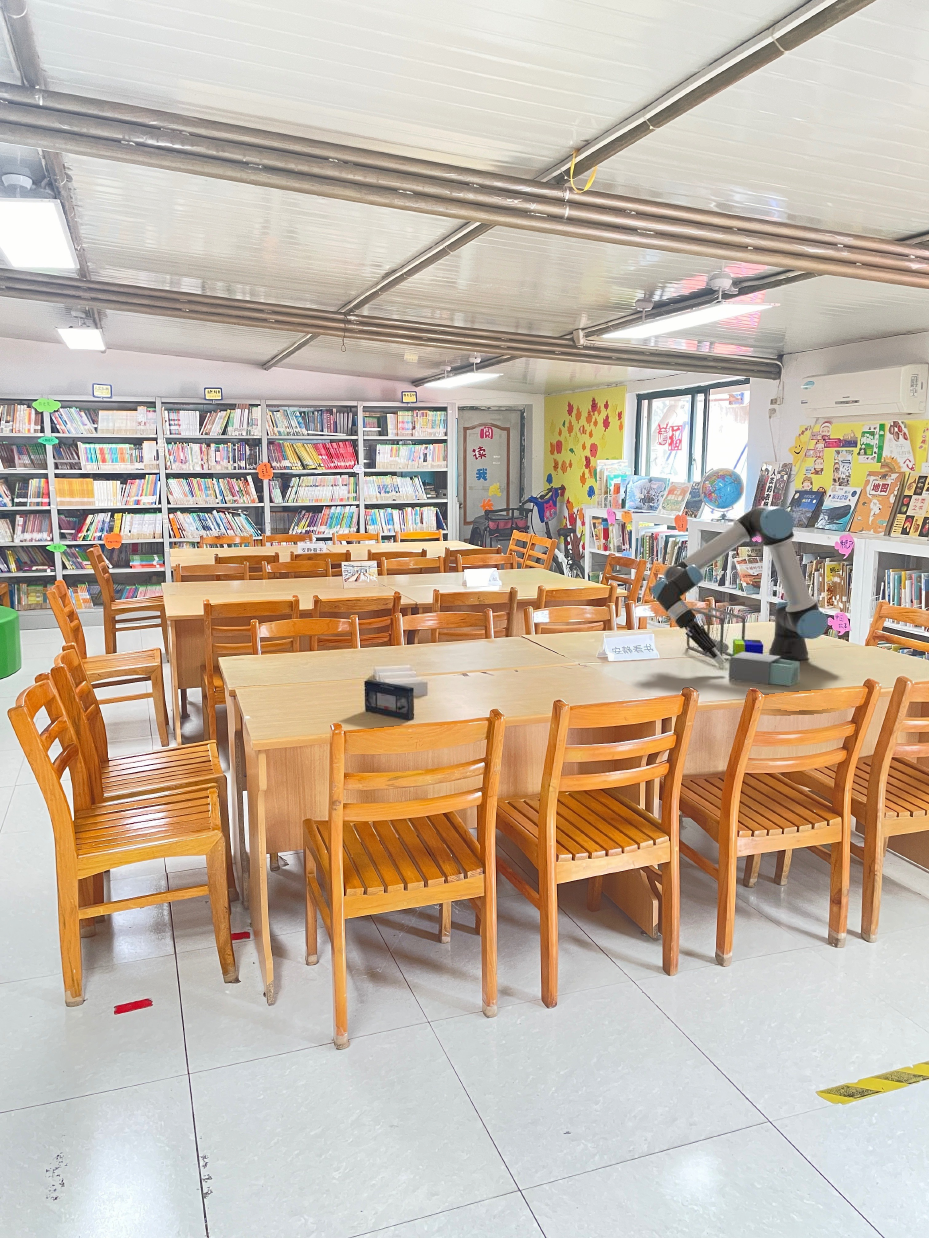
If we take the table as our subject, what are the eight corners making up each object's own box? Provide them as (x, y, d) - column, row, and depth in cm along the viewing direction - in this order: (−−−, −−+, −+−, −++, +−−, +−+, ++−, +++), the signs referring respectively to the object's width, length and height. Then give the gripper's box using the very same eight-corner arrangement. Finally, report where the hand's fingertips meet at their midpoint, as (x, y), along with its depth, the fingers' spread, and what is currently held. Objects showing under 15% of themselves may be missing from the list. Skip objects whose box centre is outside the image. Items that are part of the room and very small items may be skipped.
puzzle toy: (761, 670, 333) (763, 644, 332) (734, 669, 335) (735, 643, 334) (758, 665, 343) (760, 640, 342) (732, 664, 345) (733, 639, 344)
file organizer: (407, 674, 329) (407, 661, 328) (427, 696, 296) (427, 682, 295) (373, 676, 326) (372, 662, 325) (389, 699, 293) (388, 684, 292)
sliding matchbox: (728, 677, 320) (729, 658, 319) (738, 672, 328) (739, 654, 327) (789, 686, 307) (791, 666, 306) (798, 680, 315) (799, 661, 314)
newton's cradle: (743, 660, 351) (746, 616, 349) (719, 661, 349) (722, 617, 346) (708, 646, 380) (710, 606, 378) (685, 647, 378) (687, 606, 375)
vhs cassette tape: (364, 711, 276) (363, 680, 274) (370, 709, 278) (370, 678, 276) (408, 721, 264) (407, 689, 263) (414, 719, 267) (414, 687, 265)
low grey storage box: (729, 679, 319) (730, 657, 318) (741, 673, 329) (742, 651, 327) (768, 684, 311) (769, 661, 309) (779, 678, 320) (780, 656, 319)
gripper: (682, 619, 340) (721, 666, 333) (668, 623, 330) (708, 672, 323) (695, 606, 336) (736, 654, 329) (682, 610, 326) (723, 660, 319)
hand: (722, 663), depth 326 cm, fingers closed
